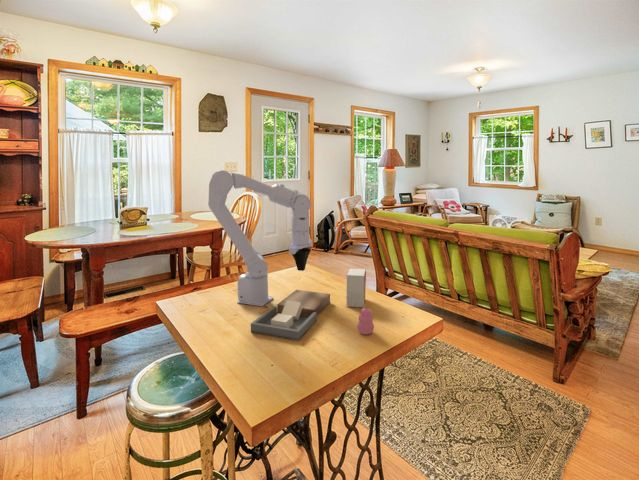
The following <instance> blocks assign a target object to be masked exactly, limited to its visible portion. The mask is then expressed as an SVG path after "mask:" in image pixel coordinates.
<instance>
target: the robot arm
mask: <svg viewBox="0 0 639 480" xmlns="http://www.w3.org/2000/svg"><path fill="white" fill-rule="evenodd" d="M243 188H244V189H247V190H249V191H250V190H251V191H253V192H257V193H258V194H262V195H265V196H267V197H268V199H269V201H270V202H272V203H274V204H278V205H280V206H283V207H285V208H288V209H289V208H291V213H292V214H291V244H290V247H288V254H289V255H291V256H292V257H293V259H294V263H295V266H296V269H297V271H300V272H301V271H302V272H304V271H305V270H306V266H307V262H308V257H309V255H310V253H311V251H312V250H311V247H313V245H314V244H313V241H312V239H311V238H310V212H309V211H310V209H311V207H312V202H311V200H310V197H309V196H308V195H305V194H303V193H301V192H299V191H298V190H297V189H294V190H293V189H290V188H287V187H285V184H283V183H280V184H273V185H271V186H270V185H269V184H266V183H263V182H261V181H259V180H256V179H254V178H251V177H249V176H247V175H244V174H240V173H235V172H232V171H230V172H228V171H226V170H224V169H220V170H216V171H215V172H213V174H212V176H211V179H210V180H209V184H208V208H209V209H210V210H211V212H212V214H213V215H214V217H215V218H216V220H217V221H218V223H219V224H220V226H221V227H222V228H223V230H224V232H225V233H226V234H227V237H228V238H229V239H230V242H231V243H232V244H233V245H234V247H235V249H236V250H237V252H238V253H239V254H240V256H241V258H242V260H243V261H244V263H245V266H246V269H247V270H246V272H245V273H242V274H241V275H239V276H238V279H237V298H238V299H237V300H236V302H237V304H243V305H250V306H257V307H263V306H265V305H266V304H268V303H269V302H270V301H271V300H273V299H274V297H273V296H270V295H269V281H268V280H269V279H268V277H269V276H268V264H267V262H266V261H265V259H264V257H263V256H264V255H262V254H261V253H260V252H258V251H257V250H256V249H255V247H254V246H253V245H252V243H251V242H250V240H249V239H248V237H247V235H246V234H245V233H244V231H243V229H242V228H241V226H240V224H238V221H237V220H236V219H235V217H234V216H233V214H232V213H231V211H230V209H229V208H228V206H227V205H226V202H227V198H228V195H229V193H230V191H231V190H232V189H243Z"/></svg>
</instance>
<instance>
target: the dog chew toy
mask: <svg viewBox="0 0 639 480" xmlns="http://www.w3.org/2000/svg"><path fill="white" fill-rule="evenodd" d="M373 321H374V316H373V315H372V310H371V309H370V308H369V307H367V306H364V307H362V308H361V309H360V314H359V315H358V321H357V322H358V323H357V325H356V328H357V330H358V332H359V333H360V334H361V335H370V334H372V333H373V331H374V328H375V325H374V322H373Z"/></svg>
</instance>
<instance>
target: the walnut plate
mask: <svg viewBox="0 0 639 480" xmlns="http://www.w3.org/2000/svg"><path fill="white" fill-rule="evenodd" d="M287 300H288V301H295V302H301V304H302V306H303V308H302V311H301V314H300V317H306V318H308V317H309V316H310V315H311V314H312V313H313V312H316V313H317V317H318V316H319V315H320V314H321V313H322V312H323V311H324V310H325V309H326V308H327V306H329V305H330V303H331V294H330V293H326V292H325V293H324V292H318V291H317V292H316V291H311V290H310V291H308V290H301V289H294V291H292V293H290V294H289V295H288V296H286V297H284V299H282V300H281V301H280V302H278V303H277V304H276V309H277V313H281V314H282V311H283V309H284V306H285V303H286V301H287Z"/></svg>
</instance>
